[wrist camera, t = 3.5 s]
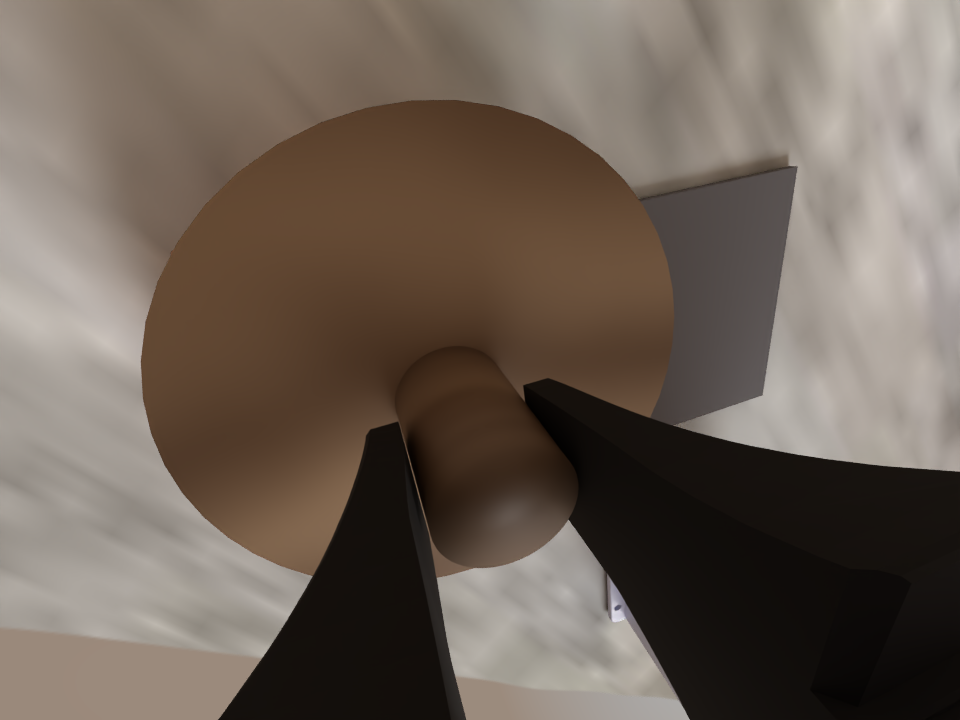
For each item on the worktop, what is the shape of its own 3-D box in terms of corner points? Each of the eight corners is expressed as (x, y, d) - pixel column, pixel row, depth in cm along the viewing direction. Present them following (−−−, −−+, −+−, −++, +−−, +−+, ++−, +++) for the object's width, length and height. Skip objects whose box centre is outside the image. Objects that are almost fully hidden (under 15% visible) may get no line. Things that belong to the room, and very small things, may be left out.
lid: (654, 465, 17) (770, 581, 12) (299, 614, 15) (291, 816, 10) (646, 40, 10) (882, -22, 6) (1, 197, 8) (-358, 275, 4)
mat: (756, 391, 26) (762, 395, 26) (565, 456, 24) (568, 460, 23) (789, 166, 21) (797, 166, 20) (545, 219, 18) (550, 221, 18)
